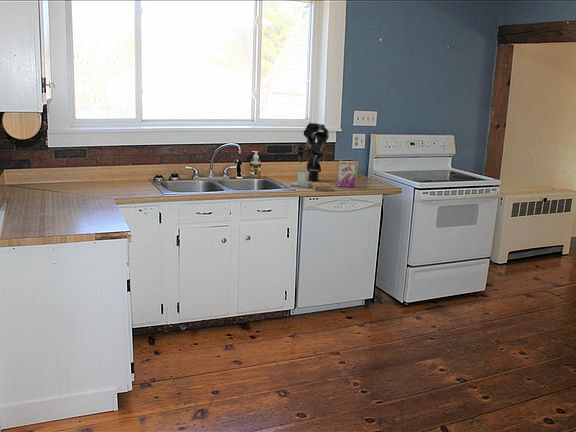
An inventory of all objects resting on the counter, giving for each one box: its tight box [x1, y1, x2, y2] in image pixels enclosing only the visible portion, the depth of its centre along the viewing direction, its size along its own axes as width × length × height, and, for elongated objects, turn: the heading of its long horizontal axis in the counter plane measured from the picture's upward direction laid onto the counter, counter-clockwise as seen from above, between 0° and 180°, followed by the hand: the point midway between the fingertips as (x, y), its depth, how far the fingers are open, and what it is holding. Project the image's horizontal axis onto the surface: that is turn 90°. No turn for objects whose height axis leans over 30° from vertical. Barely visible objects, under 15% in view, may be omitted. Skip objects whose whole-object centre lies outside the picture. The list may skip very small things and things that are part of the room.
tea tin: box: [296, 168, 309, 185], centre depth 373 cm, size 4×5×9 cm
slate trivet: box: [289, 181, 315, 189], centre depth 374 cm, size 12×12×2 cm
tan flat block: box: [312, 183, 332, 192], centre depth 365 cm, size 8×10×3 cm
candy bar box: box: [336, 160, 357, 189], centre depth 378 cm, size 11×5×16 cm, turn 84°
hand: (307, 164), depth 380 cm, fingers open, 9 cm apart
